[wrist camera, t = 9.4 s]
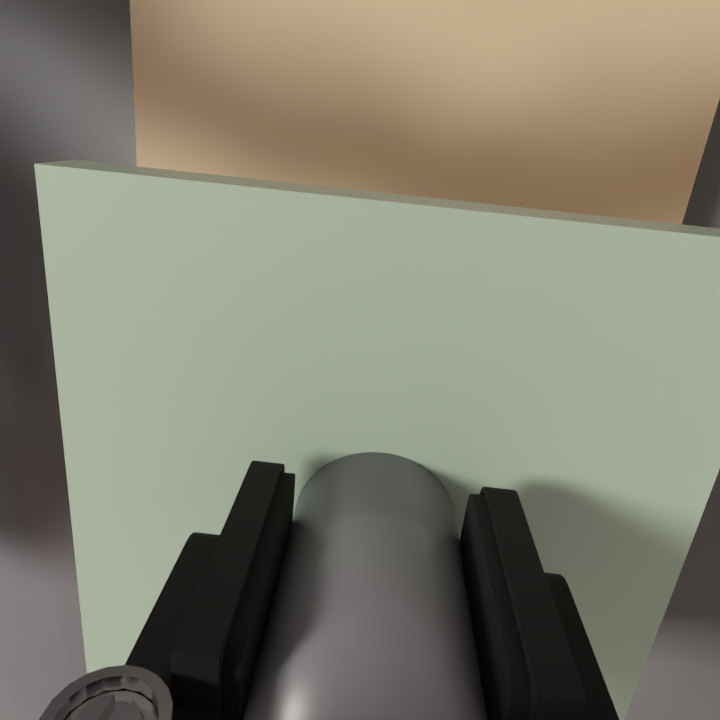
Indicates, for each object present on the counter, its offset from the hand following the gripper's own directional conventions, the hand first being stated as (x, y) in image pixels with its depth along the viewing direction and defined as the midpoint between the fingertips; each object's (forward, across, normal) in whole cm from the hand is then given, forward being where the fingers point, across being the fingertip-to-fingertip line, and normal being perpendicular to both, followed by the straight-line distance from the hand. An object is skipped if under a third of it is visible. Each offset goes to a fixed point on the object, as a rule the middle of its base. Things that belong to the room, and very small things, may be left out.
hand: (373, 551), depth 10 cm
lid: (+3, 0, 0) cm, 3 cm away
